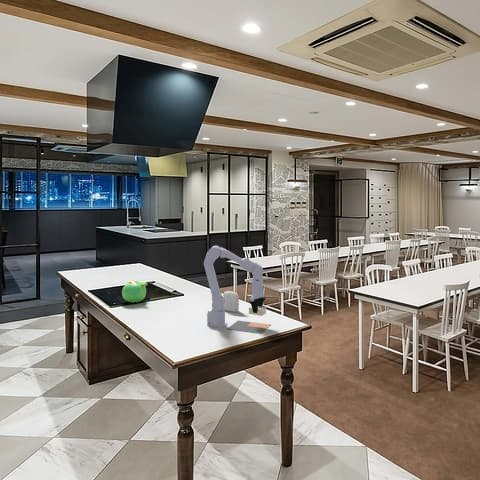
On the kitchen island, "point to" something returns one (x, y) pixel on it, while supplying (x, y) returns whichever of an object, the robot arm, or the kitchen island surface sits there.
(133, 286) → the green apple
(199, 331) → the kitchen island surface
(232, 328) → the mat
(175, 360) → the kitchen island surface
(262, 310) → the card deck
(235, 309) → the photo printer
